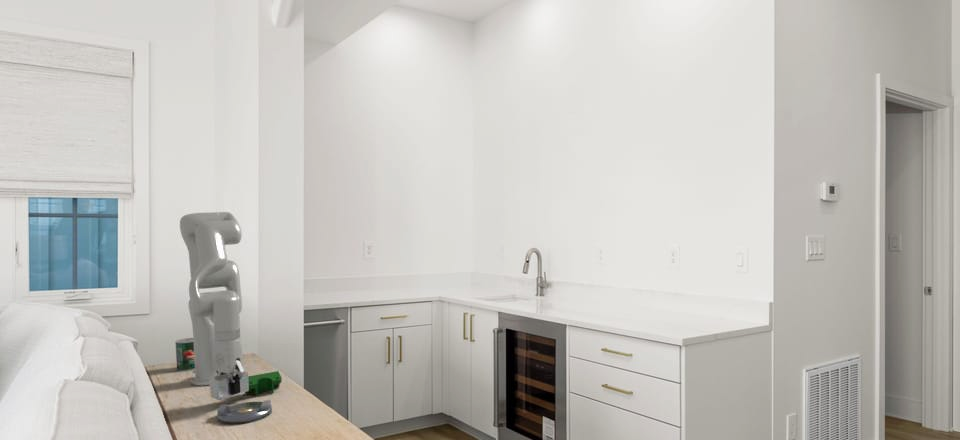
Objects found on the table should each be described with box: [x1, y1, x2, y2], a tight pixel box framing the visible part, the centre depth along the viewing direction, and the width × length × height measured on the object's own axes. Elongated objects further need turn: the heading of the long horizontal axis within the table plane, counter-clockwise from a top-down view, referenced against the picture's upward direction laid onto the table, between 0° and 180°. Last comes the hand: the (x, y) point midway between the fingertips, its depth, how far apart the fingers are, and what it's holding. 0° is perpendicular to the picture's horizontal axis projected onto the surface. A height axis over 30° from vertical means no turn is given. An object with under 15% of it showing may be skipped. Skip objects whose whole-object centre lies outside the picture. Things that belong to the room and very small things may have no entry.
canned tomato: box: [175, 337, 195, 372], centre depth 238 cm, size 8×8×11 cm
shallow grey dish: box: [216, 399, 273, 425], centre depth 181 cm, size 15×15×3 cm
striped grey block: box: [209, 371, 249, 401], centre depth 192 cm, size 5×10×6 cm, turn 143°
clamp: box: [244, 370, 283, 398], centre depth 202 cm, size 12×6×9 cm, turn 115°
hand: (229, 391), depth 192 cm, fingers closed on striped grey block, 5 cm apart
